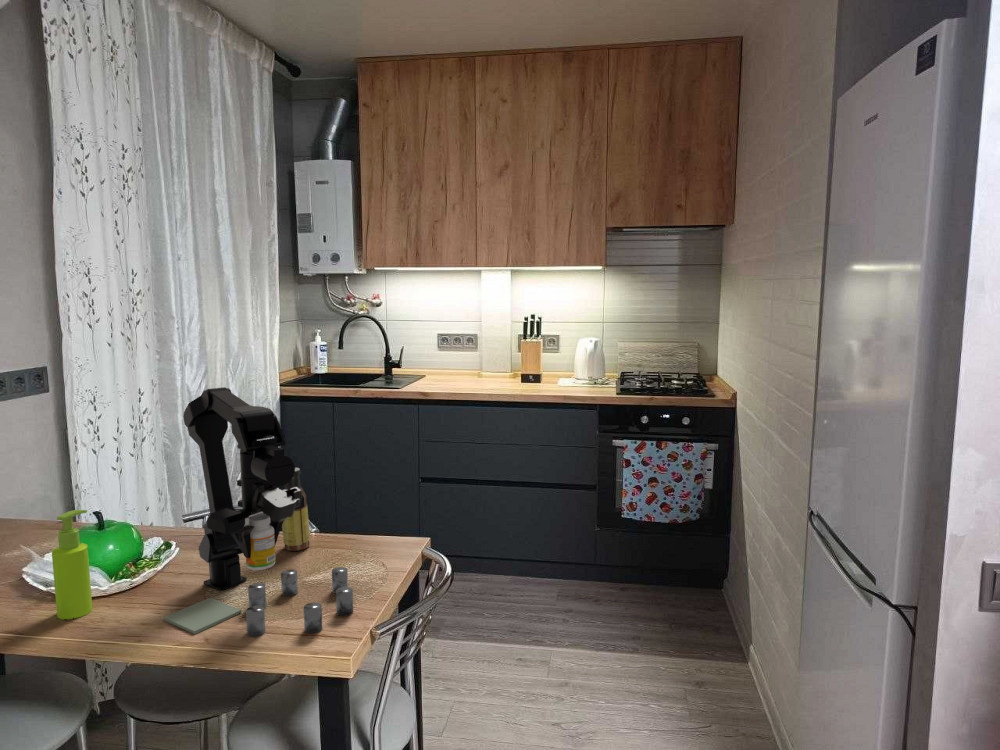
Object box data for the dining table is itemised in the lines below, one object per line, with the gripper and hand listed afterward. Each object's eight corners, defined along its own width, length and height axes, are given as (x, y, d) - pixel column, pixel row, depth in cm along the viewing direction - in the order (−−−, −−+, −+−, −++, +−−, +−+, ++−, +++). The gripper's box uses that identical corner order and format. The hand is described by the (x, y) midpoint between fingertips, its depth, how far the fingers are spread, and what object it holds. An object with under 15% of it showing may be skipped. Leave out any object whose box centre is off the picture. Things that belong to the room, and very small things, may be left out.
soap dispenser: (103, 604, 136) (96, 508, 134) (75, 620, 129) (67, 519, 127) (78, 602, 137) (70, 506, 135) (49, 618, 131) (40, 517, 128)
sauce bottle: (302, 541, 171) (299, 464, 168) (314, 547, 166) (311, 468, 164) (278, 547, 166) (274, 468, 164) (289, 554, 162) (286, 473, 159)
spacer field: (216, 622, 129) (215, 600, 128) (314, 577, 149) (313, 558, 148) (284, 651, 118) (283, 626, 118) (379, 598, 138) (378, 577, 138)
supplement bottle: (245, 561, 133) (243, 514, 132) (274, 558, 135) (272, 511, 134) (246, 572, 128) (244, 523, 127) (276, 568, 130) (274, 519, 129)
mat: (163, 620, 130) (163, 617, 129) (210, 600, 138) (210, 597, 138) (194, 634, 124) (194, 631, 124) (241, 612, 132) (241, 609, 132)
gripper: (243, 494, 117) (247, 579, 119) (323, 469, 133) (325, 545, 135) (203, 484, 123) (207, 565, 125) (284, 461, 139) (286, 534, 141)
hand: (260, 552), depth 131 cm, fingers closed on supplement bottle, 5 cm apart
